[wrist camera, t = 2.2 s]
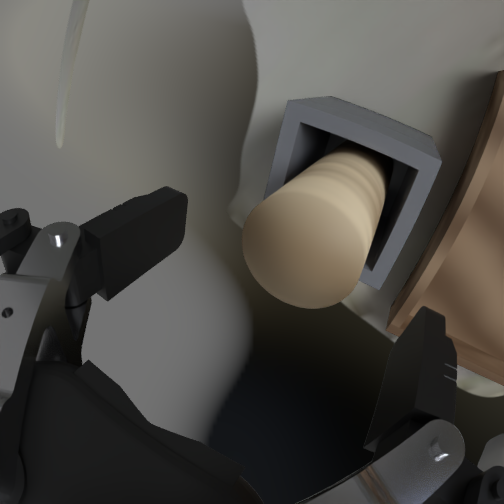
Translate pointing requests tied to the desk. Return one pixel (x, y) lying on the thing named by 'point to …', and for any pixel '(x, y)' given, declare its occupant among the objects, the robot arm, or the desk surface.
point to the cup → (492, 453)
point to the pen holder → (370, 135)
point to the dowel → (319, 227)
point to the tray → (468, 257)
